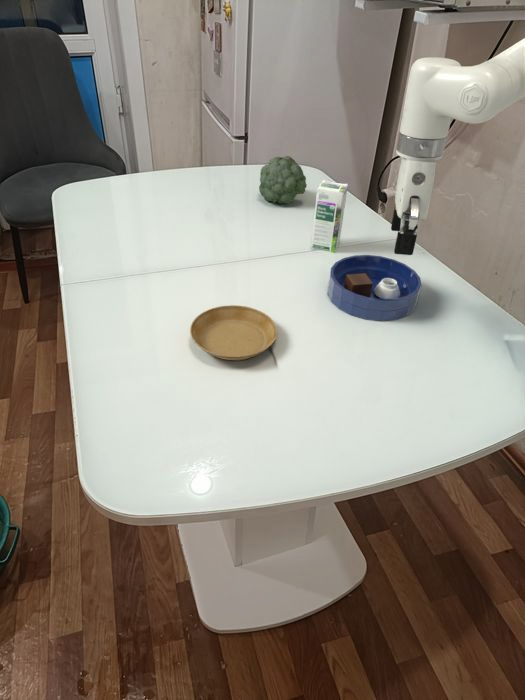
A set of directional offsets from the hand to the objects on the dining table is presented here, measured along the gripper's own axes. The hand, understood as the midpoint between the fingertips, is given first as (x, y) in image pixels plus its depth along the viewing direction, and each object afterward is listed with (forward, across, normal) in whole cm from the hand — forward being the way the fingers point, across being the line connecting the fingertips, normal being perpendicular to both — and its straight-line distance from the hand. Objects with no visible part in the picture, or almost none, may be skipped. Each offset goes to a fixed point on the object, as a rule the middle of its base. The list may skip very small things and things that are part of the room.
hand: (401, 241), depth 94 cm
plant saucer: (+12, -20, +28) cm, 36 cm away
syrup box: (+12, +19, +14) cm, 26 cm away
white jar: (+12, 0, +1) cm, 12 cm away
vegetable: (+11, +45, +27) cm, 54 cm away
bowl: (+12, -1, +4) cm, 13 cm away
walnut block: (+12, -2, +7) cm, 13 cm away
